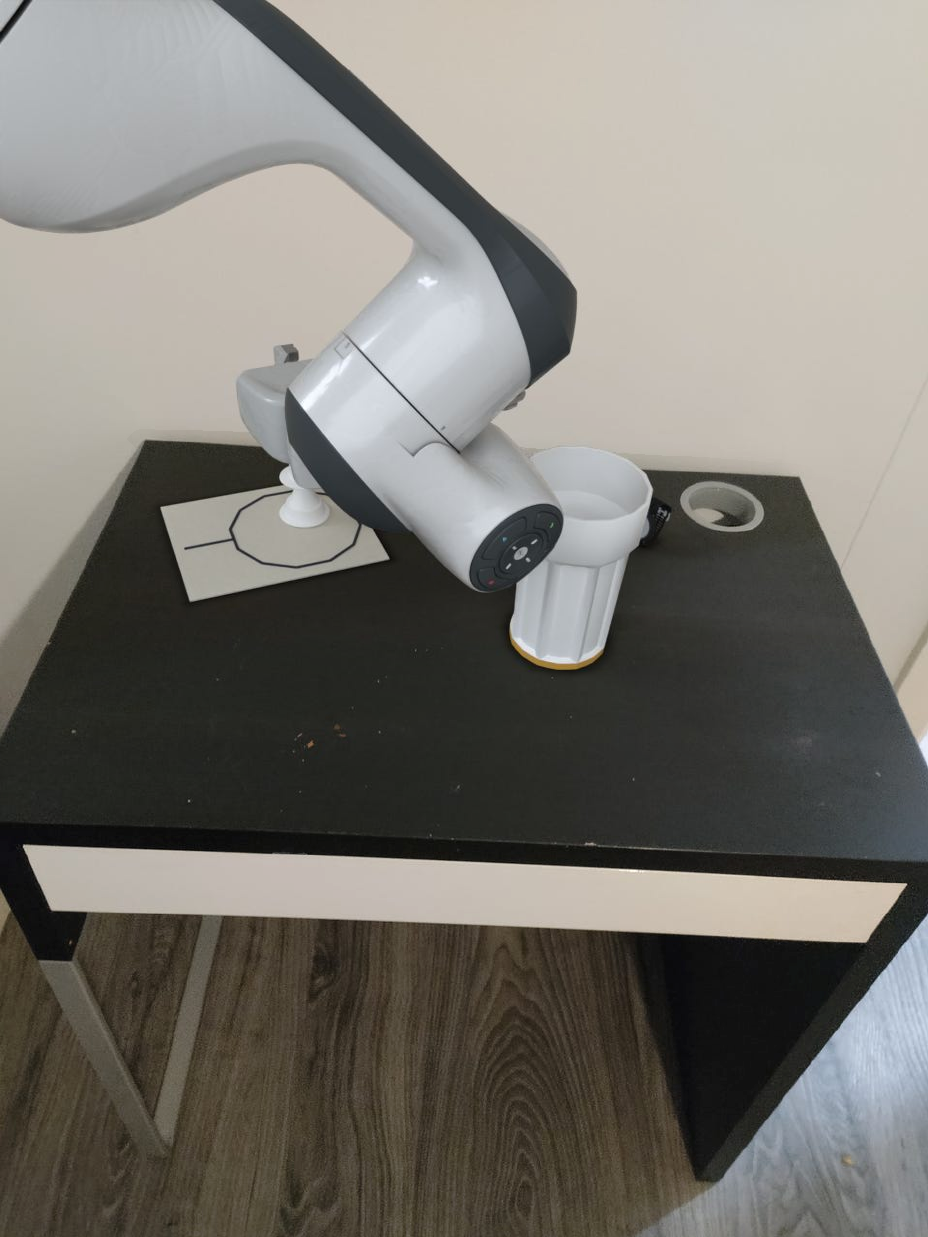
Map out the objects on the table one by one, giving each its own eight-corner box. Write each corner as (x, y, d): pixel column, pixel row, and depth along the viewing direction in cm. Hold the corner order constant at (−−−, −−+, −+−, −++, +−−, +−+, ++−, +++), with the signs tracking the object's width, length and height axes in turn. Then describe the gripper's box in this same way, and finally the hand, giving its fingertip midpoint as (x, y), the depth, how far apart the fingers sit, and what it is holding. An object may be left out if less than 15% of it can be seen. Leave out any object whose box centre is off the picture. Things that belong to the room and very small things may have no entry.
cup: (615, 603, 92) (649, 451, 80) (619, 685, 83) (658, 529, 72) (500, 591, 92) (518, 438, 80) (493, 672, 83) (512, 514, 72)
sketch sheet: (190, 602, 88) (189, 599, 88) (160, 508, 99) (160, 506, 98) (389, 559, 95) (389, 557, 94) (341, 476, 105) (341, 473, 105)
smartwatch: (616, 534, 100) (624, 496, 97) (658, 526, 102) (667, 488, 98) (634, 557, 97) (643, 518, 94) (677, 549, 99) (687, 510, 95)
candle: (339, 508, 100) (336, 409, 92) (312, 534, 97) (306, 433, 89) (297, 493, 102) (290, 395, 94) (269, 518, 98) (259, 418, 90)
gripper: (541, 361, 68) (455, 288, 77) (270, 413, 60) (210, 325, 69) (531, 437, 72) (452, 359, 81) (277, 494, 64) (220, 401, 73)
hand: (338, 343), depth 75 cm, fingers open, 8 cm apart
